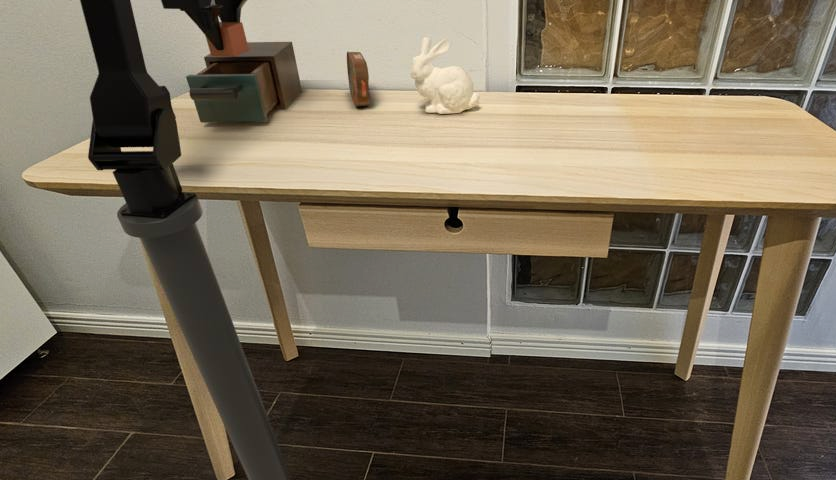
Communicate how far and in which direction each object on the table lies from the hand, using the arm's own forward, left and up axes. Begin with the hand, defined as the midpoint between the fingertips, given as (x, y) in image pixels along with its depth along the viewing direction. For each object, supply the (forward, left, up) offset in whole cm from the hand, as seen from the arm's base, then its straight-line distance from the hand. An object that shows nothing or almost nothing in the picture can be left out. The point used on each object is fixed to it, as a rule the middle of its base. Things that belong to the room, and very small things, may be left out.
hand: (228, 46), depth 91 cm
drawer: (-3, 0, -11) cm, 11 cm away
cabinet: (+9, +2, -12) cm, 15 cm away
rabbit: (+9, -35, -12) cm, 38 cm away
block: (0, 0, -1) cm, 1 cm away
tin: (+12, -18, -12) cm, 25 cm away
